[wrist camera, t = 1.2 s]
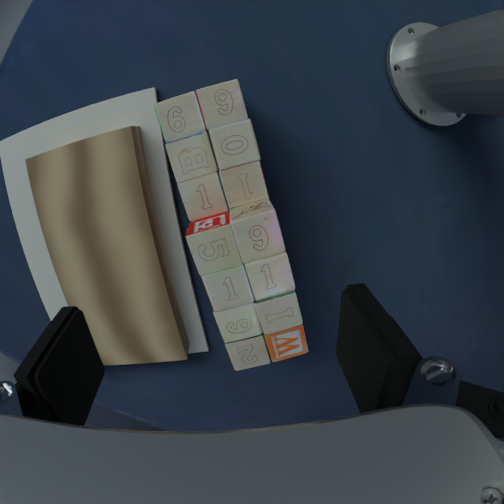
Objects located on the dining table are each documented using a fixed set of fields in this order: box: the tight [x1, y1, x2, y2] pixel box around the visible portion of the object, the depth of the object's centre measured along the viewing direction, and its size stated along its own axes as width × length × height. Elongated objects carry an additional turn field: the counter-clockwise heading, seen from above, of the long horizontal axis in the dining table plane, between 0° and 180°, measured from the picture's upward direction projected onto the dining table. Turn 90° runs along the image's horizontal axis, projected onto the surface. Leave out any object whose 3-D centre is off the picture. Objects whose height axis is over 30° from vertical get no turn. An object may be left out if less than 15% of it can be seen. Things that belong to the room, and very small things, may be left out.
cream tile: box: [0, 87, 209, 353], centre depth 32 cm, size 20×30×1 cm, turn 8°
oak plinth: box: [25, 126, 190, 365], centre depth 31 cm, size 12×25×3 cm, turn 8°
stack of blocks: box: [154, 79, 309, 371], centre depth 26 cm, size 21×6×12 cm, turn 14°
